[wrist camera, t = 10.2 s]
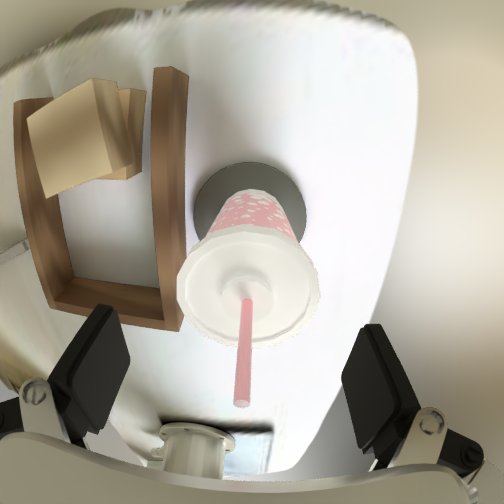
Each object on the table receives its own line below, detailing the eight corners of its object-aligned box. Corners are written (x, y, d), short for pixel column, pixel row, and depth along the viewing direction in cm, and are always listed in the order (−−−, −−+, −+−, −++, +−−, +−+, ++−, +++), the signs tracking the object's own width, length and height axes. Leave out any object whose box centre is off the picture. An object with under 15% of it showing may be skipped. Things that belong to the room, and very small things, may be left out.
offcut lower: (143, 170, 19) (126, 180, 16) (79, 169, 18) (58, 178, 16) (148, 91, 16) (130, 88, 13) (81, 97, 16) (59, 98, 13)
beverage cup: (249, 159, 17) (224, 278, 5) (313, 219, 19) (386, 390, 7) (191, 223, 20) (108, 389, 7) (254, 273, 21) (249, 452, 9)
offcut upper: (134, 162, 16) (112, 172, 13) (71, 185, 16) (46, 198, 13) (116, 82, 13) (91, 78, 10) (53, 114, 14) (26, 118, 11)
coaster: (239, 282, 23) (238, 286, 22) (173, 206, 20) (171, 208, 19) (324, 229, 20) (326, 233, 20) (263, 139, 17) (263, 140, 17)
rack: (189, 300, 24) (178, 332, 20) (69, 284, 23) (49, 307, 20) (188, 75, 15) (171, 66, 12) (45, 99, 15) (13, 102, 12)
